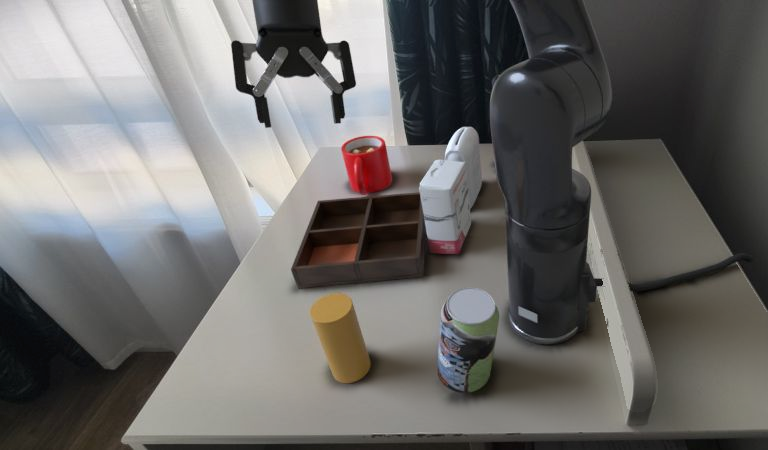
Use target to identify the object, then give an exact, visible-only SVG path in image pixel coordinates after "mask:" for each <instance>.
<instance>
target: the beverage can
mask: <svg viewBox="0 0 768 450" xmlns="http://www.w3.org/2000/svg"><path fill="white" fill-rule="evenodd" d="M439 317H440V318H439V336H438V350H437V351H438V353H437V376H438V379H439V380H440V381H441V383H442V385H444V387H446V388H447V389H449V390H451V391H453V392H457V393H461V394H464V393H465V394H468V393H473V392H476V391H478V390H480V389H481V388H482V387H484V386H485V385H486V384H487V383H488V381H489V379H490V377H491V371H492V367H493V366H492V365H493V359H494V354H495V347H496V341H497V334H498V328H499V322H500V311H499V309H498V306H497V304H496V303H495V300H494V298H493V297H492V296H491V295H490V293H488V292H486V291H485V290H483V289H481V288H477V287H463V288H460V289H457V290H455V291H453V292H452V293H451V294H450V295H449V296H448V298H447V299H446V300H445V302H444V303H443V305H442V306H441V309H440V316H439Z"/></svg>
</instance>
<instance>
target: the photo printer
mask: <svg viewBox="0 0 768 450" xmlns="http://www.w3.org/2000/svg"><path fill="white" fill-rule="evenodd" d="M444 160H448V161H460V162H465V163H466V173H467V184H468V195H469V205H470V210H471V209H472V207H473V206H474V205H475V203H476V201H477V198H478V196H479V193H480V191H481V189H482V184H483V177H482V176H483V175H482V164H481V149H480V137H479V133H478V132H477V130H476V129H475V128H474V127H472V126H462V127H460V128H459V129H457V130H456V131H455V132H454V133H453V134H452V136H451V138H450V140H449V141H448V143H447V146H446V148H445V153H444Z"/></svg>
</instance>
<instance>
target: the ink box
mask: <svg viewBox="0 0 768 450" xmlns="http://www.w3.org/2000/svg"><path fill="white" fill-rule="evenodd" d="M418 190H419V192H420V196H421V202H422V208H423V213H424V219H425V225H426V236H427V243H428V248H429V252H430V253H432V254H433V253H434V254H443V255H459V254H460V252H461V250H462V247H463V245H464V242H465V240H466V237H467V235H468V232H469V230H470V228H471V225H472V217H471V209H470V205H469V195H468V184H467V173H466V163H465V162H460V161H448V160H445V159H435V160H434V161H433V163H432V164H431V166H430V167H429V169H428V170H427V172H426V174H425V175H424V176H423V178H422V179H421V181H420V182H419V187H418Z"/></svg>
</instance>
